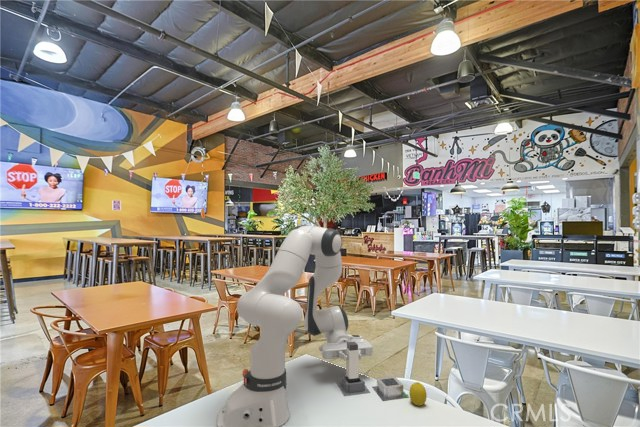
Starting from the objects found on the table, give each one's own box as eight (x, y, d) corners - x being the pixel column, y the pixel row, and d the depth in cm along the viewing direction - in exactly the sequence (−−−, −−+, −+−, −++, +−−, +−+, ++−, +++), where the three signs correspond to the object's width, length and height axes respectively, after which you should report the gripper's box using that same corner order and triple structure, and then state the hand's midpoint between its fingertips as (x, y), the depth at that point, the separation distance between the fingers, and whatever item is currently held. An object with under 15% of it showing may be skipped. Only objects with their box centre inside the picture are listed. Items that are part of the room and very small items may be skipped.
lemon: (427, 412, 104) (427, 387, 104) (410, 410, 105) (409, 385, 105) (425, 402, 109) (425, 379, 109) (408, 401, 110) (408, 377, 111)
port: (382, 404, 108) (382, 390, 109) (371, 389, 118) (371, 377, 118) (409, 400, 111) (409, 387, 111) (396, 386, 120) (396, 374, 121)
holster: (344, 399, 111) (344, 387, 112) (336, 385, 121) (336, 374, 121) (370, 395, 114) (370, 384, 114) (360, 382, 123) (360, 371, 124)
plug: (349, 379, 115) (349, 345, 116) (346, 374, 119) (346, 342, 119) (358, 378, 116) (358, 344, 117) (355, 373, 120) (355, 341, 120)
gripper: (317, 338, 128) (326, 351, 115) (365, 335, 133) (378, 347, 119) (317, 354, 128) (325, 369, 114) (364, 350, 132) (378, 364, 119)
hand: (353, 357), depth 117 cm, fingers closed on plug, 4 cm apart
